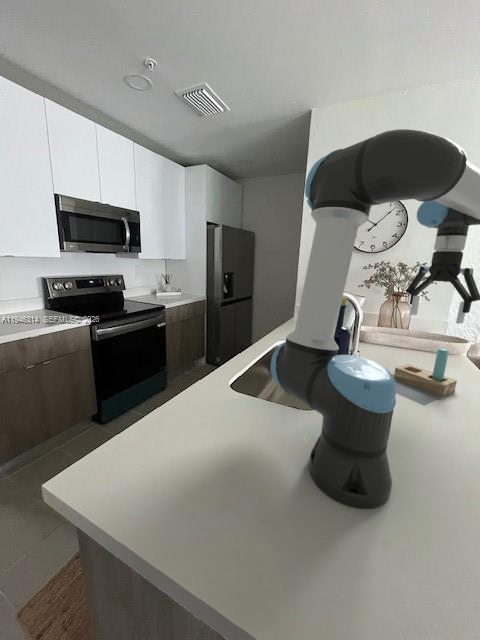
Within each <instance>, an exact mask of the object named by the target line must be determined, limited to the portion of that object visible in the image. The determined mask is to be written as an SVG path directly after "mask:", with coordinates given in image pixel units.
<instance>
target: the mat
mask: <svg viewBox="0 0 480 640" xmlns="http://www.w3.org/2000/svg"><path fill="white" fill-rule="evenodd" d="M392 376H393V377H394V373H393V374H392ZM394 380H395V382H396V395H399V396H402V397H404V398H407V399H408V400H411V401H412V402H415V403H417V404H420V405H423V406H426V405H427V406H428V405H429V404H431V403H433V402H435V401H437V400H440V399H441V398H443V397H441V396H439V395H436V394H434V393H431V392H428V391H426V390H423V389H421V388H418V387H416V386H413V385H411V384H408V383H406V382H403V381H400V380H398V379H395V378H394ZM451 394H452V393H450V394H448V395H447V396H449V395H451Z"/></svg>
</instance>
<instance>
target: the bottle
mask: <svg viewBox="0 0 480 640" xmlns="http://www.w3.org/2000/svg"><path fill="white" fill-rule="evenodd" d="M346 309H347V297H344V296H343V298H342V302H341V307H340V311H339V316H338V320H337V325H336V329H335V334H334V341H335V342H336V344H337V345H338V347H339V349H338V353H337V355H350V349H351V342H352V332H351V331H350V329H349V328H348V327H346V326H344V322H345V314H346Z"/></svg>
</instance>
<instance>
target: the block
mask: <svg viewBox="0 0 480 640" xmlns="http://www.w3.org/2000/svg"><path fill="white" fill-rule="evenodd" d="M393 374H394V378H395V379H398V380H400V381H403V382H406V383H408V384H411V385H413V386H416V387H418V388H421V389H423V390H426V391H428V392H431V393H434V394H436V395H439V396H441V397H442V398H444V397H447V396H449V395H451V394H453V393H455V392H456V386H457V381H458V380H456V379H454V378H451V377H448V376H445V375H444V377H443V382H440V381H437V380H434V379H432V375H433V371H429V370H428V369H427V370H426V369H423V368H421V367H417V366H414V365H413V364H412V365H411V364H409V363H407V364H403V365H401V366H396V367H395V368H394V373H393ZM450 393H451V394H450ZM448 394H449V395H448Z"/></svg>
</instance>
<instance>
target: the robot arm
mask: <svg viewBox="0 0 480 640" xmlns="http://www.w3.org/2000/svg"><path fill="white" fill-rule="evenodd" d="M304 188H305V189H304V190H305V191H304V194H305V197H306V198H307V200H306V203H307V205H308V207H309V208H310V210H311V213H310V216H311V217H312V219H313V220H314V222H315V229H314V233H313V237H312V238H313V239H312V244H311V248H310V253H309V258H308V263H307V268H306V272H305V278H304V283H303V288H302V293H301V298H300V303H299V307H298V311H297V312H298V313H297V317H296V321H295V327H294V330H293V331H292V332H290V333H289V334H287V335H286V338H285V341H284V342H283V343H281V344H280V345H278V348H277V349H275V351H274V352H273V354H272V356H271V360H270V373H271V377H272V379H273V381H274V383H276V385H277V386H279V388H281V389H282V390H283V391H284V392H285V393H286V394H288V395H289V396H292V397H294V398H295V399H297V400H298V401H300V402H301V403H303V404H305V405H306V406H308V407H309V408H311V409H313V410H314V411H315V412H317V413H319V414H320V415H321V416H322V422H321V423H322V424H321V425H322V426H321V432H320V434H319V436H318V438H317V439H316V442H315V444H314V446H313V447H312V450H311V452H310V453H309V454H310V455H309V460H308V461H309V463H308V471H309V475H310V476H311V479H312V481H313V482H314V484H315V485H316V486H317V487H318V488H319V490H321V491H322V492H323V493H324V494H325V495H327V496H328V497H330V498H331V499H333V500H334V501H336V502H338V503H341V504H343V505H346V506H349V507H352V508H357V509H373V508H374V509H375V508H377V507H380V506H382V505H384V504H386V502H387V501H388V500H389V499H390V496H391V493H392V492H391V490H392V486H393V478H392V477H393V476H392V474H391V470H390V465H389V464H390V463H389V459H388V454H387V448H388V444H389V443H388V442H389V438H390V433H391V432H390V431H391V426H392V421H393V416H394V410H395V407H396V405H397V404H396V402H397V397H396V396H397V393H396V382H395V380H394V377H393V376H392V375H393V374H392V373H391V372H390V371H389V370H388V369H387V368H386V367H385V366H383V365H381V364H380V363H378V362H376V361H373V360H371V359H368V358H366V357H364V356H363V357H362V356H360V357H359V356H356V355H353V354H349V355H337V353H338V349H339V347H338V345H337V344H336V342H335V341H334V334H335V329H336V325H337V320H338V316H339V311H340V307H341V302H342V298H343V297H344V292H345V289H346V288H345V287H346V285H347V284H346V283H347V279H348V275H349V270H350V266H351V265H350V264H351V262H352V257H353V253H354V247H355V244H356V243H355V242H356V239H357V234H358V231H359V228H360V227H361V226H363V225H364V224H365V223H366V222H368V221H369V217H370V213H371V208H372V206H376V205H382V204H386V203H393V202H397V201H406V200H409V201H410V200H415V201H418V202H421V204H420V205H419V207H418V209H417V212H416V220H417V222H418V223H419V224H420V225H422V226H424V227H425V228H428V229H431V228H433V229H437V230H436V235H435V241H434V245H433V250H434V252H433V253H432V258H431V265H430V267H428V266H424V265H423V266H422V265H421V266H420V267H419V269H418V273H417V274H416V275H415V277H414V278H413V279H412V281H411V282H410V284H409V285H408V287H407V288H406V289H405V293H407V294H409V295H410V300H409V305H411V309H410V314H409V315H410V316H415V315H417V314H418V310H419V305H420V299H421V298H420V297H421V295H419V294H421V293H422V292H423V291H424V290H425V289H427V287H429V286H430V285H431V284H432V283H435V282H445V283H450V284H451V285H452V286H453V287H454V289H455V291H457V293H458V295H460V297H461V299H462V300H463V301H460V303H459V307H458V312H457V317H456V320H455V323H456V324H463V323H464V321H465V316H466V314H469V313H470V312H471V311H470V310H471V306H472V303H473V302H477V301H480V292H479V290H478V287H477V283H476V282H475V279H474V276H473V275H474V269H473V267H465V268H461V266H462V262H463V257H464V252H463V251H464V250H465V247H466V243H467V237H468V232H469V228H470V226H478V225H480V169H479V168H478V167H476V166H475V165H473V164H472V163H470V162H469V161H468V156H467V153H466V152H465V150H464V149H463V148H462V147H461V146H459V145H458V144H457V143H456V142H454V141H452V140H450V139H449V138H447V137H444V136H441V135H438V134H435V133H432V132H428V131H424V130H423V131H422V130H416V129H408V128H406V129H405V128H404V129H399V128H398V129H393V130H391V129H390V130H387V131H386V130H385V131H384V132H381V133H378V134H376V135H374V136H371V137H369V138H366V139H364V140H362V141H359V142H357V143H355V144H351V145H350V146H346V147H344V148H339V149H335V150H333V151H331V152H329V153H328V154H327V155H325V156H322V157H320V158H319V159H318V160H317V161H316V162H315V163H314V164H313V165H312V166H311V168H310V170H309V172H308V174H307V177H306V181H305V187H304ZM427 273H429V274H430V275H428V276H427V277H426V279H425V280H424V281H422V280H423V279H424V277H425V276H426V274H427ZM460 274H461V275H462V276H463V277H464V280H465V284H466V288H467V289H466V288H465V287H464V285H463V283H462V282H461V280H460V279H459V277H458V276H459V275H460ZM420 283H421V284H420Z"/></svg>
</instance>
